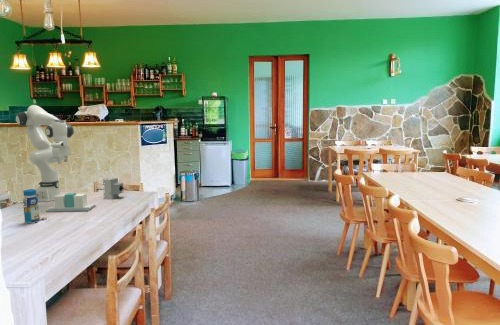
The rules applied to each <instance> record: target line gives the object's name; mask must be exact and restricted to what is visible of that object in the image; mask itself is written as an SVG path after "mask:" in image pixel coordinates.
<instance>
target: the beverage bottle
mask: <svg viewBox="0 0 500 325" xmlns="http://www.w3.org/2000/svg"><path fill="white" fill-rule="evenodd" d="M22 193H23V196H24V198H23V200H22V203H23V205H22V208H23V215H24V224H27V223H32V224H36V223H35V222H37V223H40V222H41V218H40V204H39V202H38V198H37V197H36V196H35V195H36V189H34V188H33V189H31V188H29V189H25V190H23V192H22Z"/></svg>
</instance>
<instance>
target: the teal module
mask: <svg viewBox="0 0 500 325" xmlns="http://www.w3.org/2000/svg"><path fill="white" fill-rule="evenodd" d="M75 195H77V193H76V192H68V193H65V202H66V208H69V207H74V197H73V196H75Z"/></svg>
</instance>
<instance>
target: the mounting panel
mask: <svg viewBox="0 0 500 325" xmlns="http://www.w3.org/2000/svg"><path fill="white" fill-rule="evenodd" d="M65 194H66V193H65ZM65 194H64V193H60V194H59V195H56V196H54V200H53V201H54V205H52V206H50V207H47V210H46V211H45V212H46V213H76V212H79V213H82V212H83V213H85V212H89V211H91V210H93V209H94V208H96V206H97V205H96V204H88V198H87V193H76V195H75V196H73V197H74V207H69V208H66V202H65Z"/></svg>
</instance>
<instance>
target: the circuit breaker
mask: <svg viewBox="0 0 500 325" xmlns="http://www.w3.org/2000/svg"><path fill="white" fill-rule="evenodd" d="M102 185H103V186H104V188H103V189H104V192H103V199H105V198H106V199H107V200H114V197H115V199H117V198H119V197H120V196H119V195H120V194H122V193H124V189H125V188H124V182H119V180H118V177H107V178H104V179H102ZM106 199H105V200H106Z"/></svg>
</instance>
